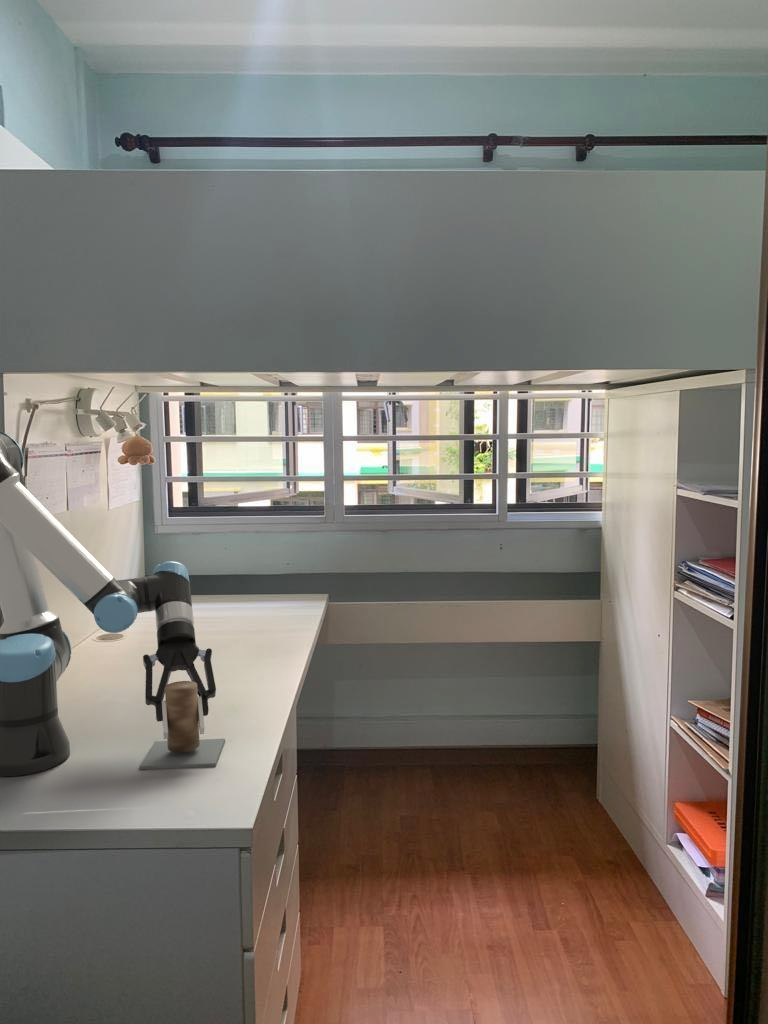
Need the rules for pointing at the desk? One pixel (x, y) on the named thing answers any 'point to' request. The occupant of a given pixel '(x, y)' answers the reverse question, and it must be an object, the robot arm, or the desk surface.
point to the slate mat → (183, 755)
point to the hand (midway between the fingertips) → (184, 733)
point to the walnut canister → (182, 716)
